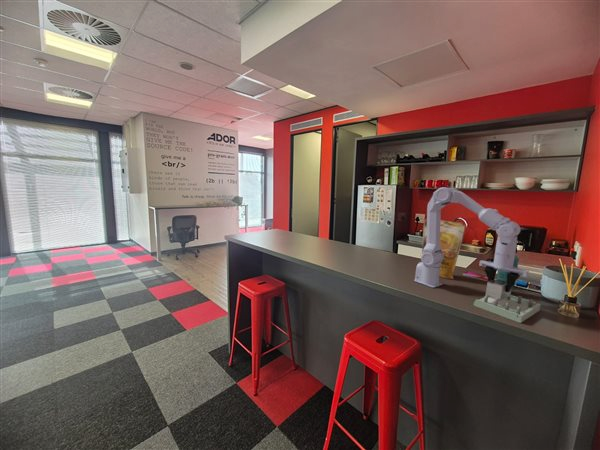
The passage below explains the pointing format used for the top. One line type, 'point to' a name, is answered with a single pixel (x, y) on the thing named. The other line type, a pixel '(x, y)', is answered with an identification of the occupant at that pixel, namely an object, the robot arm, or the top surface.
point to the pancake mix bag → (447, 245)
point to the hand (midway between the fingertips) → (499, 289)
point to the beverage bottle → (504, 274)
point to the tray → (509, 307)
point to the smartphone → (476, 276)
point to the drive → (497, 289)
